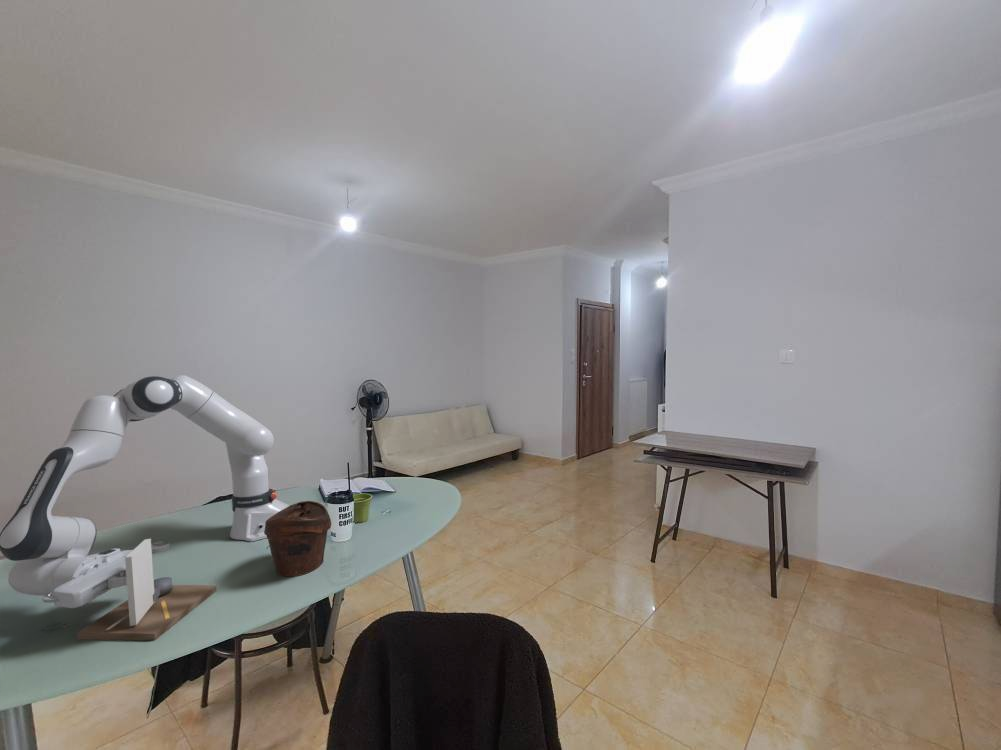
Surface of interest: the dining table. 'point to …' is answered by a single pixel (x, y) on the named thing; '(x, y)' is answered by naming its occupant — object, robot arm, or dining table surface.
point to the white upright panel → (143, 582)
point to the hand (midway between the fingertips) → (137, 577)
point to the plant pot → (361, 507)
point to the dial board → (149, 615)
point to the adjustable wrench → (159, 547)
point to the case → (298, 537)
